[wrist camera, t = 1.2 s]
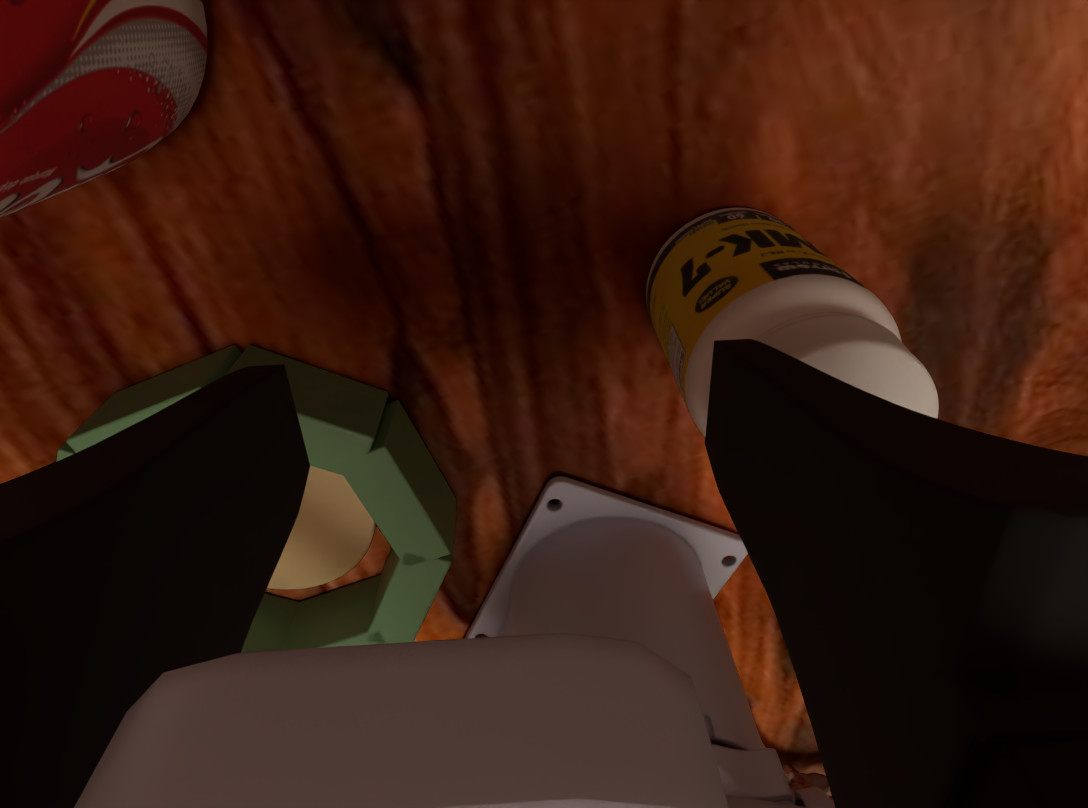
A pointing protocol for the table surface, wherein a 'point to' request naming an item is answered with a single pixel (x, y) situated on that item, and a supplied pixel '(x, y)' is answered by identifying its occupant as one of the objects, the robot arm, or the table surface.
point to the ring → (370, 469)
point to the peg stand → (324, 534)
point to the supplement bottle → (773, 310)
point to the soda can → (90, 87)
